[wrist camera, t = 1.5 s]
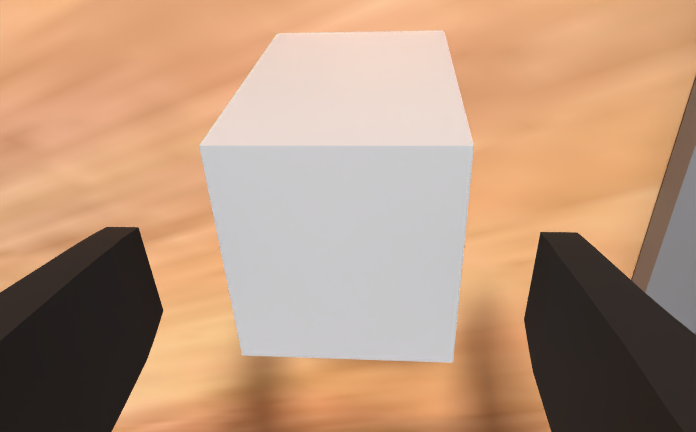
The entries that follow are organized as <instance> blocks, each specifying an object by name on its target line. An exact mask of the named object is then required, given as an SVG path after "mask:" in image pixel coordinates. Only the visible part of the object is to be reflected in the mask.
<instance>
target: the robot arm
mask: <svg viewBox="0 0 696 432" xmlns="http://www.w3.org/2000/svg"><path fill="white" fill-rule="evenodd" d="M162 313H163V308H162V305H161V301H160V298H159V295H158V291H157V288H156V285H155V281H154V278H153V275H152V271H151V268H150V265H149V261H148V258H147V255H146V251H145V248H144V245H143V241H142V238H141V234H140V231H139V228H138V227H106V228H104V229H102V230H100V231H98V232H96V233H95V234H93V235H91V236H89V237H88V238H86V239H84V240H83V241H81V242H79V243H78V244H76V245H74V246H73V247H71V248H70V249H68V250H66V251H65V252H63V253H62V254H60V255H59V256H57V257H55V258H54V259H52V260H51V261H49V262H48V263H46V264H45V265H43V266H41V267H40V268H38V269H37V270H35V271H34V272H32V273H30V274H29V275H27V276H26V277H24V278H23V279H21V280H19V281H18V282H16V283H15V284H13V285H12V286H10V287H8V288H7V289H5V290H4V291H2V292H0V432H112V430H113V428H114V426H115V424H116V422H117V420H118V418H119V416H120V414H121V412H122V410H123V408H124V406H125V404H126V402H127V400H128V398H129V396H130V394H131V392H132V389H133V387H134V385H135V383H136V381H137V379H138V377H139V375H140V373H141V371H142V369H143V367H144V365H145V363H146V360H147V358H148V355H149V353H150V350H151V347H152V344H153V341H154V338H155V335H156V332H157V329H158V326H159V323H160V319H161V316H162ZM524 322H525V328H526V334H527V340H528V346H529V352H530V357H531V363H532V368H533V373H534V376H535V380H536V383H537V386H538V390H539V393H540V396H541V399H542V403H543V406H544V409H545V412H546V416H547V419H548V422H549V425H550V428H551V432H696V334H694V333H693V332H692V331H691V330H689V329H688V328H687V327H686V326H684V325H683V324H682V323H681V322H679V321H678V320H677V319H676V318H674V317H673V316H672V315H671V314H670V313H668V312H667V311H666V310H665V309H664V308H662V307H661V306H660V305H659V304H658V303H657V302H655V301H654V300H653V299H652V298H651V297H650V296H648V295H647V294H646V293H645V292H644V291H643V290H642V289H640V288H639V287H638V286H637V285H636V284H635V283H634V282H632V281H631V280H630V279H629V278H628V277H627V276H626V275H625V274H623V273H622V272H621V271H620V270H619V269H618V268H617V267H616V266H615V265H613V264H612V263H611V262H610V261H609V260H608V259H607V258H606V257H605V256H603V255H602V254H601V253H600V252H599V251H598V250H597V249H596V248H595V247H593V246H592V245H591V244H590V243H589V242H588V241H587V240H585V239H584V238H583V237H582V236H581V235H579V234H578V233H570V232H541V233H540V238H539V243H538V249H537V254H536V259H535V265H534V270H533V275H532V280H531V286H530V291H529V296H528V302H527V307H526V312H525V317H524Z"/></svg>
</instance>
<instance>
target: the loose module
mask: <svg viewBox="0 0 696 432" xmlns="http://www.w3.org/2000/svg"><path fill="white" fill-rule="evenodd" d="M199 147H200V152H201V157H202V162H203V167H204V172H205V177H206V181H207V186H208V191H209V196H210V201H211V206H212V211H213V216H214V220H215V225H216V230H217V235H218V240H219V245H220V250H221V255H222V260H223V264H224V269H225V274H226V279H227V284H228V289H229V294H230V299H231V303H232V308H233V313H234V318H235V323H236V328H237V333H238V338H239V343H240V347H241V352H242V355H245V356H274V357H304V358H333V359H362V360H392V361H421V362H450V363H453V355H454V345H455V335H456V324H457V314H458V304H459V294H460V283H461V273H462V263H463V252H464V242H465V232H466V221H467V211H468V201H469V190H470V180H471V170H472V159H473V149H474V144H473V141H472V137H471V133H470V129H469V125H468V121H467V117H466V114H465V110H464V106H463V102H462V98H461V94H460V90H459V86H458V83H457V79H456V75H455V71H454V67H453V63H452V59H451V56H450V52H449V48H448V44H447V40H446V36H445V32H444V30H436V31H380V32H323V33H277V34H276V36H275V37H274V39H273V40H272V42H271V43H270V44H269V46H268V47H267V49H266V50H265V52H264V53H263V55H262V56H261V57H260V59H259V60H258V62H257V63H256V65H255V66H254V67H253V69H252V70H251V72H250V73H249V75H248V76H247V78H246V79H245V80H244V82H243V83H242V85H241V86H240V88H239V89H238V90H237V92H236V93H235V95H234V96H233V98H232V99H231V101H230V102H229V103H228V105H227V106H226V108H225V109H224V111H223V112H222V113H221V115H220V116H219V118H218V119H217V121H216V122H215V124H214V125H213V126H212V128H211V129H210V131H209V132H208V134H207V135H206V136H205V138H204V139H203V141H202V142H201V144H200V145H199Z"/></svg>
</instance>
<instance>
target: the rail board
mask: <svg viewBox="0 0 696 432" xmlns="http://www.w3.org/2000/svg"><path fill="white" fill-rule="evenodd" d="M632 282H634V283H635V284H636V285H637V286H638V287H639V288H640V289H642V290H643V291H644V292H645V293H646V294H647V295H648V296H650V297H651V298H652V299H653V300H654V301H655V302H657V303H658V304H659V305H660V306H661V307H662V308H664V309H665V310H666V311H667V312H668V313H670V314H671V315H672V316H673V317H674V318H676V319H677V320H678V321H679V322H681V323H682V324H683V325H684V326H686V327H687V328H688V329H689V330H691V331H692V332H693V333H694V334H696V79H695V83H694V86H693V89H692V92H691V95H690V98H689V101H688V105H687V108H686V111H685V114H684V117H683V120H682V124H681V127H680V130H679V133H678V136H677V139H676V142H675V146H674V149H673V152H672V155H671V158H670V161H669V165H668V168H667V171H666V174H665V177H664V180H663V183H662V187H661V190H660V193H659V196H658V199H657V202H656V206H655V209H654V212H653V215H652V218H651V221H650V224H649V228H648V231H647V234H646V237H645V240H644V243H643V247H642V250H641V253H640V256H639V259H638V262H637V265H636V269H635V272H634V275H633V278H632Z"/></svg>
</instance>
